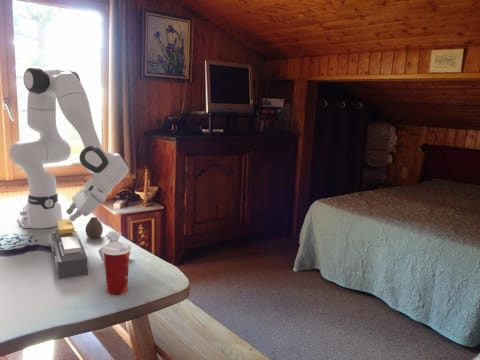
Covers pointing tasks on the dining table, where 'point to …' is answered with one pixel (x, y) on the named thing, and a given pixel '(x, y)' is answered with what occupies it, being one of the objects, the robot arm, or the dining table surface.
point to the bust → (113, 238)
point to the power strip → (70, 265)
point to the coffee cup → (116, 267)
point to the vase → (94, 228)
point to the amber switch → (65, 226)
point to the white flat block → (70, 244)
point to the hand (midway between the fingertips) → (69, 216)
